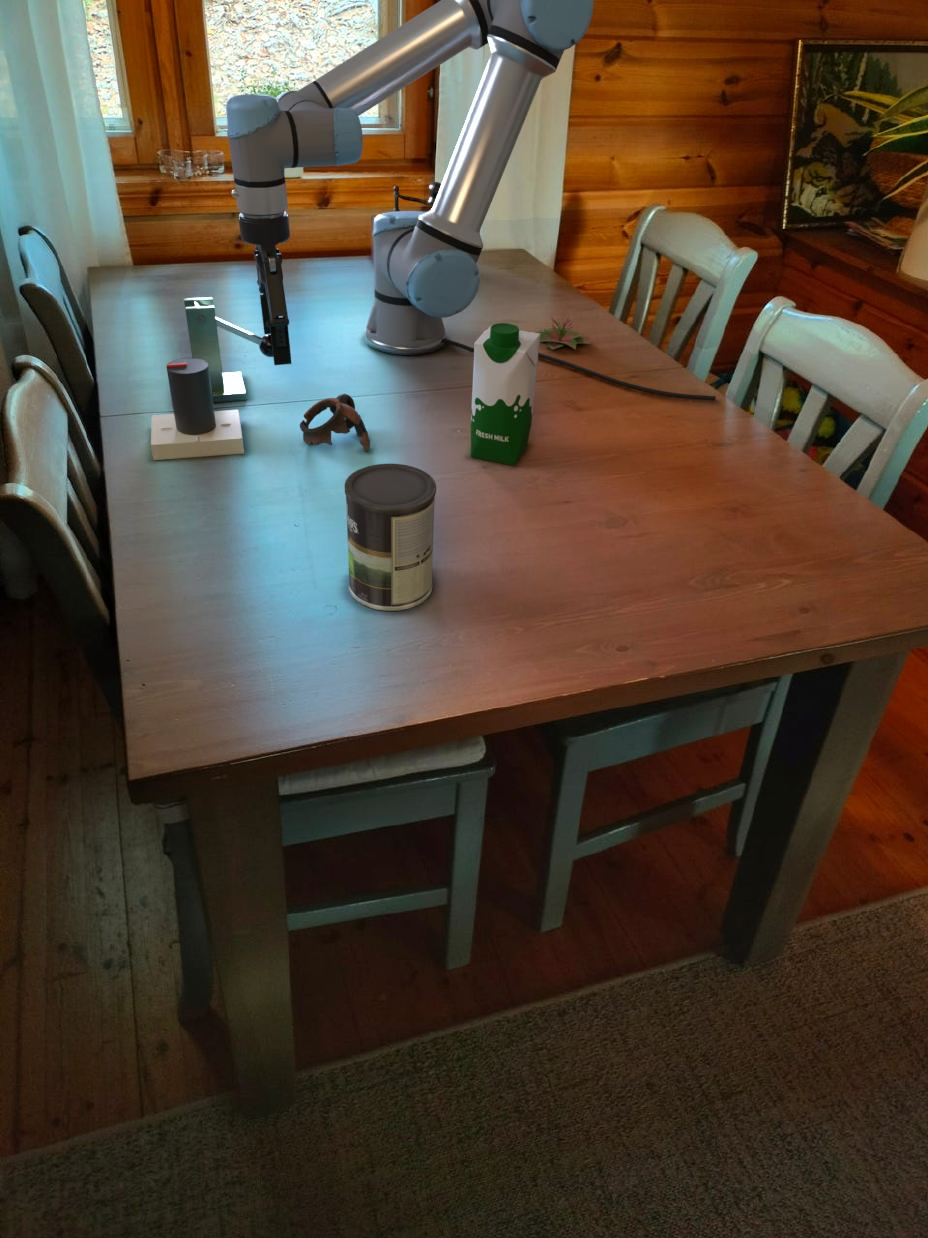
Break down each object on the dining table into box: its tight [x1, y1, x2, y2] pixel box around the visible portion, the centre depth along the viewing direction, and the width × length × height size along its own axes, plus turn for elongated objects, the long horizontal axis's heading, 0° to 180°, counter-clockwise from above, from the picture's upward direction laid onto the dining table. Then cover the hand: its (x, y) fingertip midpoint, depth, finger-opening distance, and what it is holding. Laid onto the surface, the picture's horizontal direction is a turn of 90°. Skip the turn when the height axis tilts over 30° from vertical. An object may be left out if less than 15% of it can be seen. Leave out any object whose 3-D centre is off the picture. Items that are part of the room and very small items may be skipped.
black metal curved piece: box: [370, 181, 442, 262], centre depth 208 cm, size 16×11×18 cm
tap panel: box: [150, 409, 245, 461], centre depth 137 cm, size 13×10×3 cm
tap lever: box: [192, 302, 273, 358], centre depth 148 cm, size 15×4×4 cm, turn 108°
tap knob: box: [166, 357, 216, 435], centre depth 134 cm, size 6×6×10 cm
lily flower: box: [534, 315, 592, 351], centre depth 176 cm, size 12×12×5 cm
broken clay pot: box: [299, 393, 371, 453], centre depth 139 cm, size 12×9×8 cm
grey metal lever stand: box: [183, 296, 248, 403], centre depth 148 cm, size 11×9×15 cm
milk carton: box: [470, 322, 540, 467], centre depth 134 cm, size 9×9×20 cm
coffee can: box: [344, 463, 437, 612], centre depth 106 cm, size 10×10×14 cm
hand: (277, 347), depth 152 cm, fingers open, 13 cm apart
